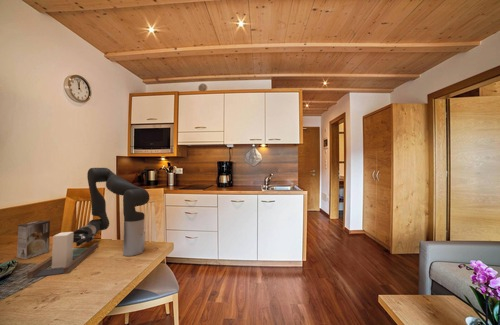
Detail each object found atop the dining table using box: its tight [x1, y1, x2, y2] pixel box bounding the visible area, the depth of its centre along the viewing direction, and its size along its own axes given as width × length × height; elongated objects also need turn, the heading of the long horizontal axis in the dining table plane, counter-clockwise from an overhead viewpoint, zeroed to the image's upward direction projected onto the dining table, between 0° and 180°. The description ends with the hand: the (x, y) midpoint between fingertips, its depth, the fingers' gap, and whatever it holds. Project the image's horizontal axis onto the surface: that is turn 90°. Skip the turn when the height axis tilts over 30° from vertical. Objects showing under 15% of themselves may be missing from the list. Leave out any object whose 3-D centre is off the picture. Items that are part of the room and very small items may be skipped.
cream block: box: [51, 231, 75, 269], centre depth 87 cm, size 5×5×14 cm
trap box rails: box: [26, 242, 99, 279], centre depth 91 cm, size 13×27×2 cm, turn 17°
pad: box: [73, 246, 90, 256], centre depth 99 cm, size 10×10×1 cm
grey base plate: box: [33, 256, 78, 278], centre depth 86 cm, size 10×17×1 cm, turn 17°
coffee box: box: [16, 219, 51, 260], centre depth 96 cm, size 9×6×16 cm
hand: (66, 245), depth 89 cm, fingers open, 8 cm apart
